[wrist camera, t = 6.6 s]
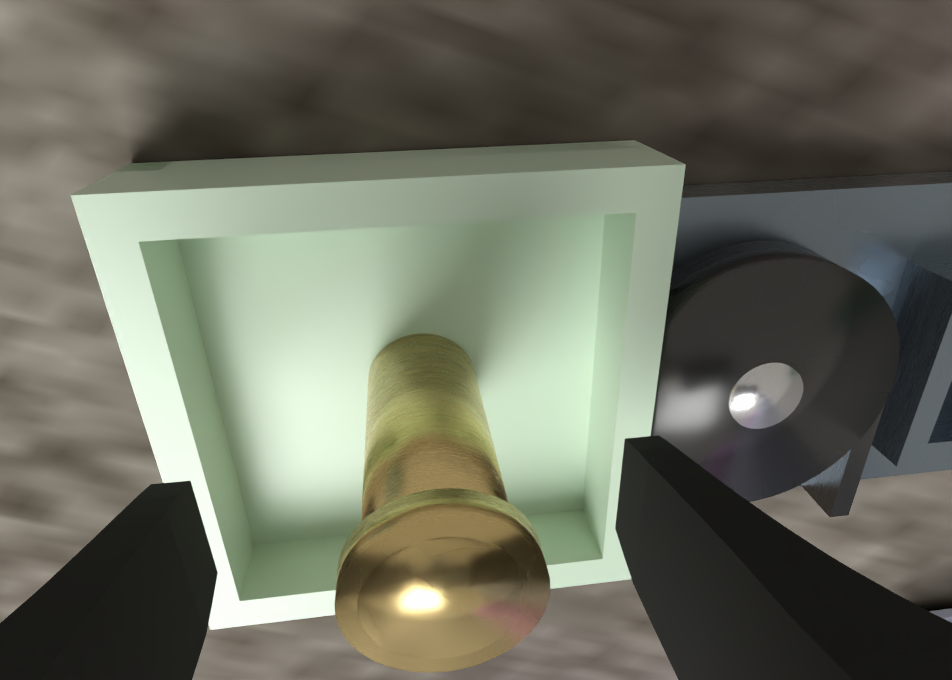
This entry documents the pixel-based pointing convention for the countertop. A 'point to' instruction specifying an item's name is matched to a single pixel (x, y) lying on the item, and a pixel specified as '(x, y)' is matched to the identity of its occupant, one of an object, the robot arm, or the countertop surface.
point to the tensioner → (811, 333)
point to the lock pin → (435, 523)
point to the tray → (385, 335)
